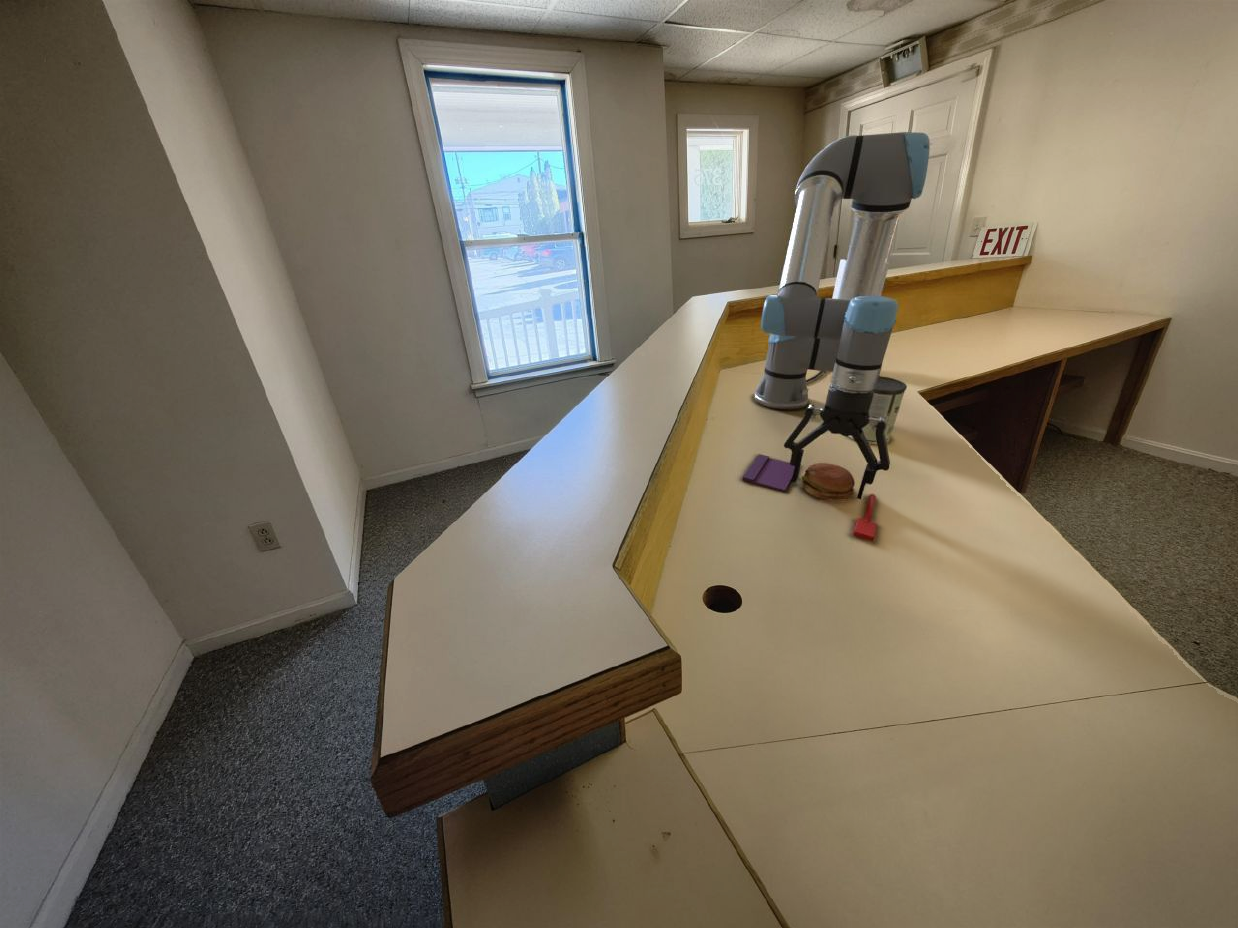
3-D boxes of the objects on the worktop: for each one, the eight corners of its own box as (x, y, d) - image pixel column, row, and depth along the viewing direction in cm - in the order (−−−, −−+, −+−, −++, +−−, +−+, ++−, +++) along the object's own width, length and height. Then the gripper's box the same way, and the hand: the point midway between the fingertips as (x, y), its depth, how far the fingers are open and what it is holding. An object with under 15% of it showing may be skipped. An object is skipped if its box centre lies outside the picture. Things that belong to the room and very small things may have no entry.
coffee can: (845, 424, 121) (858, 373, 114) (888, 431, 117) (905, 378, 110) (844, 440, 113) (858, 386, 106) (890, 447, 109) (908, 392, 102)
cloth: (758, 456, 106) (758, 453, 106) (798, 466, 102) (798, 463, 102) (742, 480, 97) (742, 477, 97) (784, 491, 93) (785, 488, 93)
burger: (862, 497, 91) (868, 477, 89) (824, 506, 88) (829, 486, 86) (827, 474, 99) (832, 455, 97) (791, 481, 96) (795, 462, 94)
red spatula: (863, 495, 92) (864, 490, 91) (880, 499, 90) (882, 494, 90) (853, 535, 80) (854, 530, 80) (873, 541, 79) (874, 536, 78)
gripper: (779, 382, 85) (762, 479, 96) (928, 406, 74) (890, 513, 85) (789, 371, 91) (772, 464, 101) (929, 392, 80) (893, 494, 91)
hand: (826, 487), depth 93 cm, fingers open, 12 cm apart
